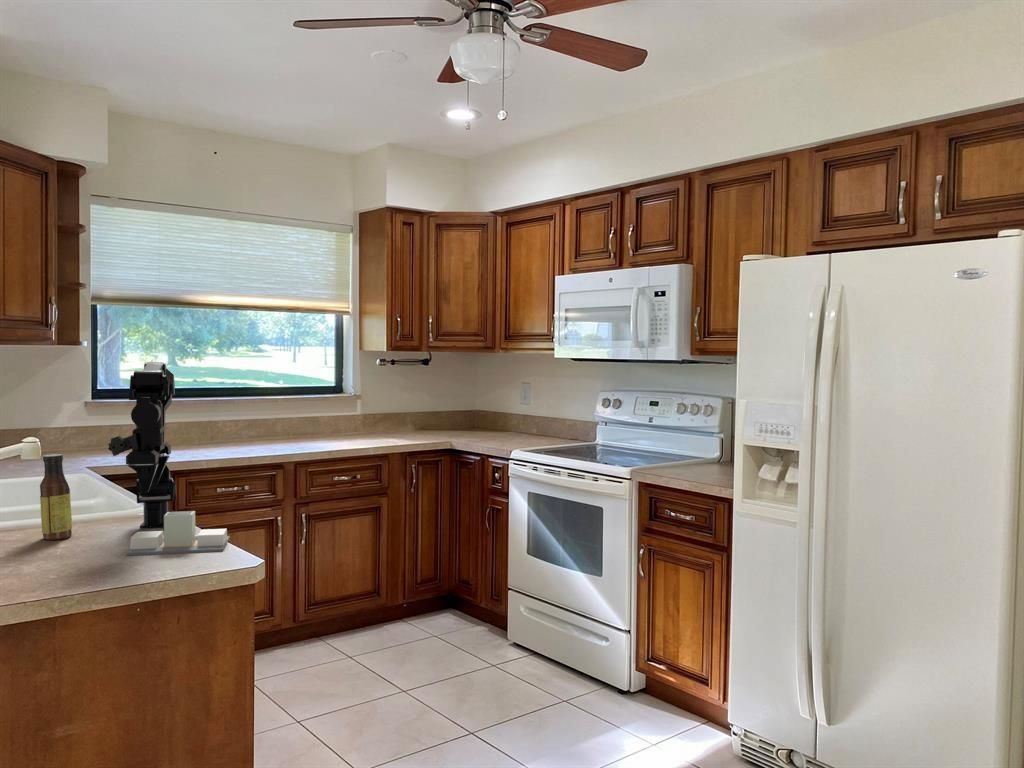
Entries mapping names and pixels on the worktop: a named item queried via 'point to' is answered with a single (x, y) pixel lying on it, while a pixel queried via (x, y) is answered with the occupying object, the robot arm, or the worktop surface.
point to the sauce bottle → (55, 500)
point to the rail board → (155, 545)
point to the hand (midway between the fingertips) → (149, 489)
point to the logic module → (179, 528)
